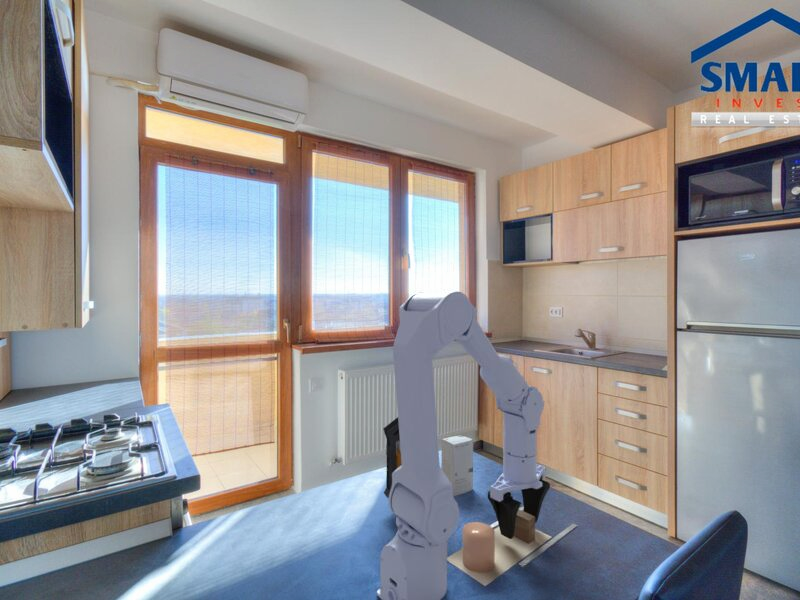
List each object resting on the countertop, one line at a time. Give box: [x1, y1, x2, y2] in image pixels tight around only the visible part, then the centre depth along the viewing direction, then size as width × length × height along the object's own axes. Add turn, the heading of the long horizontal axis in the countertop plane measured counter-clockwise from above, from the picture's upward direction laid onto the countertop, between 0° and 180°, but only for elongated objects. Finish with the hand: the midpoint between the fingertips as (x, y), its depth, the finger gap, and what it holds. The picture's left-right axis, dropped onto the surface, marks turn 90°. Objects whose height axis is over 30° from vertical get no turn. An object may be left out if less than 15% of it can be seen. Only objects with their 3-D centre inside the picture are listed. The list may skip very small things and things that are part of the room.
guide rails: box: [489, 505, 578, 568], centre depth 72 cm, size 18×10×1 cm, turn 130°
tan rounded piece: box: [462, 521, 495, 573], centre depth 63 cm, size 5×5×5 cm
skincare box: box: [440, 435, 474, 497], centre depth 88 cm, size 6×4×12 cm
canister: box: [382, 416, 402, 499], centre depth 79 cm, size 9×11×20 cm
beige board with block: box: [447, 509, 553, 587], centre depth 67 cm, size 19×8×5 cm, turn 130°
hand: (519, 527), depth 71 cm, fingers open, 7 cm apart
